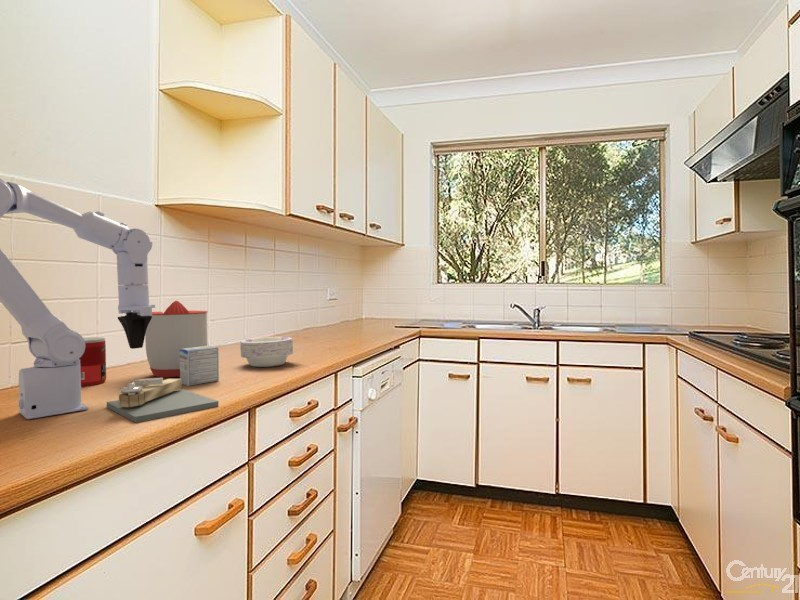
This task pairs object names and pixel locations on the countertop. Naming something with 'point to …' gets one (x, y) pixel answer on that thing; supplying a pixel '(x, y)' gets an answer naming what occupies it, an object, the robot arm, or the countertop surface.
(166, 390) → the link
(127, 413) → the base plate
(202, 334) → the citrus juicer
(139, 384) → the keeper
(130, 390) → the pintle
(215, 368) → the medicine box
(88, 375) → the canned food
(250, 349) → the grey stone bowl
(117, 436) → the countertop surface
